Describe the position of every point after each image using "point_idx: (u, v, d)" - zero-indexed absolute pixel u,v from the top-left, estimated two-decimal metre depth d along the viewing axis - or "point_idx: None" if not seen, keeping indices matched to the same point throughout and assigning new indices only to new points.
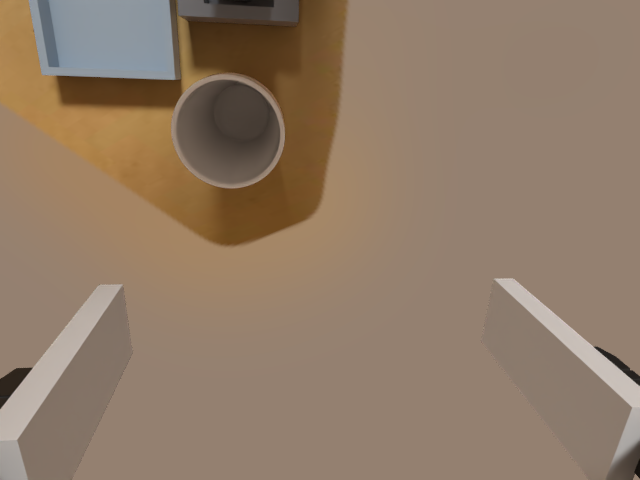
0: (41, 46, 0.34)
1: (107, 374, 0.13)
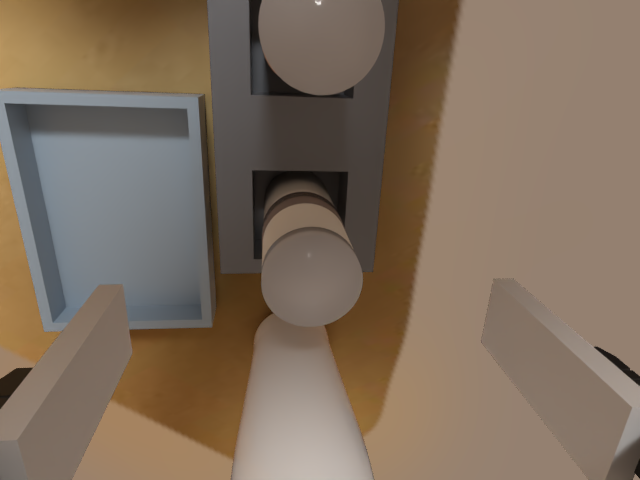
0: (43, 302, 0.26)
1: (107, 374, 0.13)
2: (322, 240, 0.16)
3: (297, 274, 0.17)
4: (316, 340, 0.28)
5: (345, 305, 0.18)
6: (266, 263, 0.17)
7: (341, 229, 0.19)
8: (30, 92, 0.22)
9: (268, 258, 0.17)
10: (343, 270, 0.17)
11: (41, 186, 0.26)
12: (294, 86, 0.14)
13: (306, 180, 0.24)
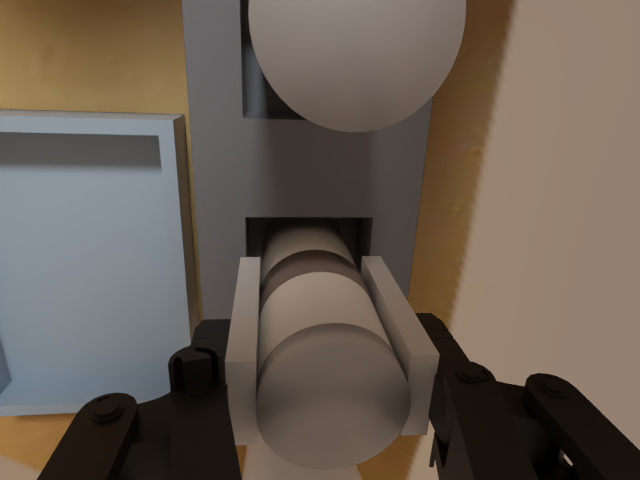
0: None
1: None
2: (351, 351, 0.11)
3: (312, 399, 0.11)
4: None
5: (383, 439, 0.12)
6: (264, 385, 0.11)
7: (373, 316, 0.13)
8: None
9: (267, 377, 0.11)
10: (382, 391, 0.11)
11: None
12: (310, 118, 0.08)
13: (317, 227, 0.18)
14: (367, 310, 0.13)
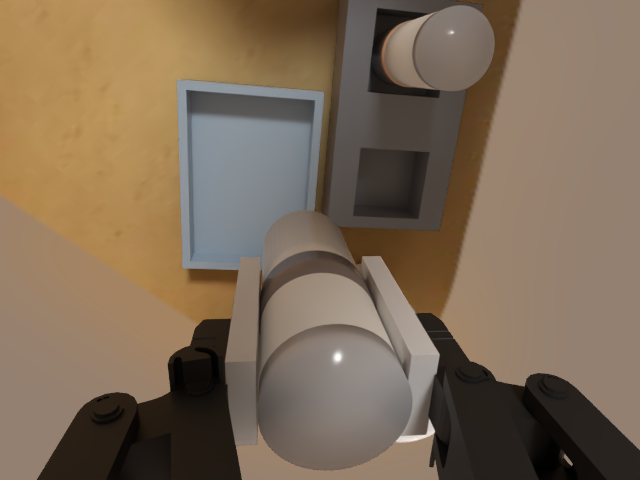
0: (186, 244, 0.34)
1: None
2: (353, 352, 0.11)
3: (313, 400, 0.11)
4: None
5: (384, 439, 0.12)
6: (266, 386, 0.11)
7: (375, 317, 0.13)
8: (205, 83, 0.30)
9: (269, 378, 0.11)
10: (383, 392, 0.11)
11: (192, 155, 0.34)
12: (434, 84, 0.23)
13: (318, 228, 0.18)
14: (368, 311, 0.13)
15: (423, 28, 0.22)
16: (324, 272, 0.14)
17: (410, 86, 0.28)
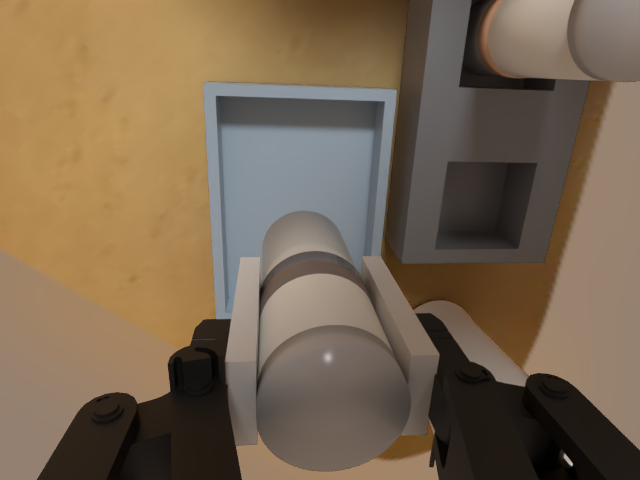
0: (220, 292, 0.27)
1: None
2: (351, 353, 0.11)
3: (312, 402, 0.11)
4: (481, 330, 0.28)
5: (383, 440, 0.12)
6: (264, 387, 0.11)
7: (373, 318, 0.13)
8: (241, 85, 0.23)
9: (267, 379, 0.11)
10: (382, 394, 0.11)
11: (223, 178, 0.26)
12: (606, 73, 0.15)
13: (317, 229, 0.18)
14: (367, 312, 0.13)
15: None
16: (323, 273, 0.14)
17: (527, 77, 0.20)
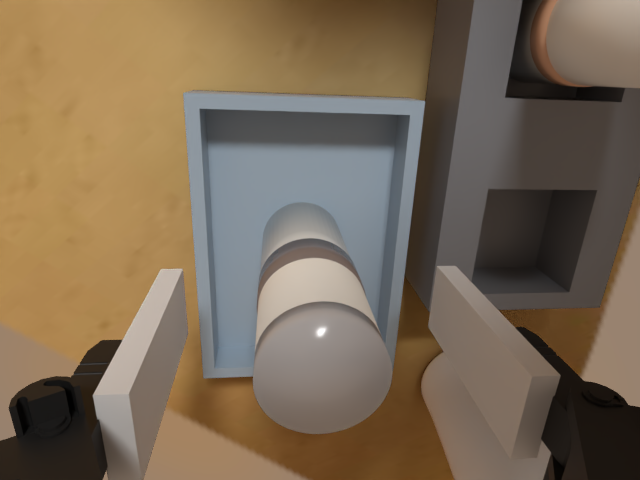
0: (207, 344, 0.22)
1: (174, 349, 0.14)
2: (337, 325, 0.12)
3: (302, 369, 0.12)
4: None
5: (367, 406, 0.13)
6: (260, 355, 0.12)
7: (361, 297, 0.14)
8: (231, 95, 0.18)
9: (262, 348, 0.12)
10: (366, 363, 0.12)
11: (211, 207, 0.21)
12: None
13: (313, 219, 0.20)
14: (355, 292, 0.14)
15: None
16: (316, 257, 0.15)
17: (598, 85, 0.16)
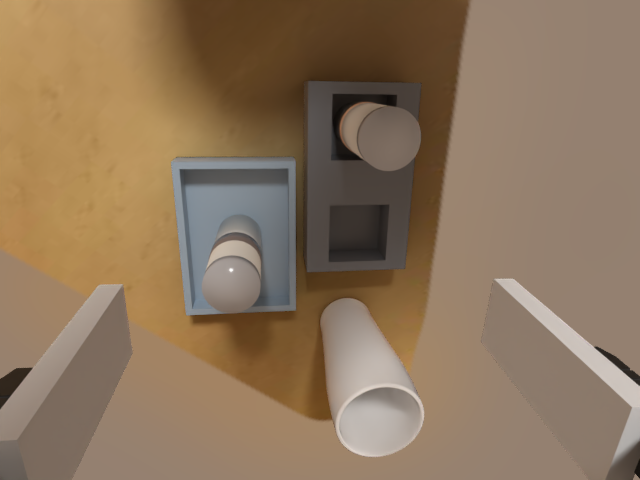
0: (187, 295, 0.40)
1: (107, 374, 0.13)
2: (234, 263, 0.30)
3: (222, 282, 0.30)
4: (367, 316, 0.41)
5: (251, 300, 0.31)
6: (204, 276, 0.30)
7: (251, 256, 0.32)
8: (195, 162, 0.36)
9: (205, 274, 0.30)
10: (248, 279, 0.30)
11: (188, 218, 0.39)
12: (376, 167, 0.28)
13: (241, 223, 0.37)
14: (249, 253, 0.32)
15: (362, 125, 0.27)
16: (235, 240, 0.33)
17: None
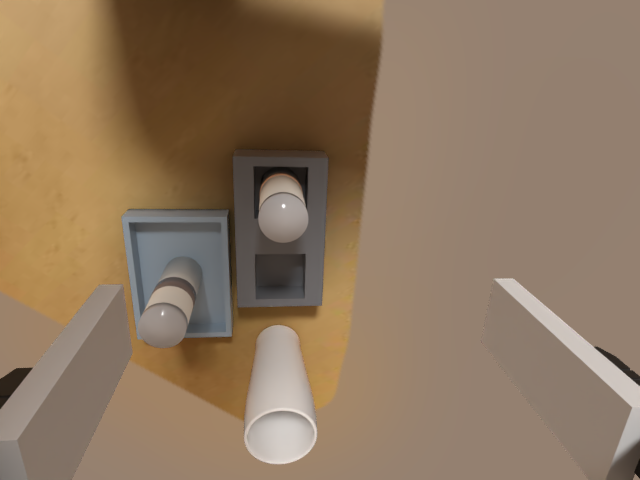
0: None
1: (107, 374, 0.13)
2: (164, 310, 0.37)
3: (154, 324, 0.37)
4: (291, 344, 0.48)
5: (179, 338, 0.38)
6: (139, 320, 0.37)
7: (182, 301, 0.39)
8: (141, 216, 0.43)
9: None
10: (175, 322, 0.38)
11: (139, 259, 0.47)
12: (272, 239, 0.35)
13: (182, 266, 0.45)
14: (179, 299, 0.39)
15: (260, 208, 0.35)
16: (170, 285, 0.41)
17: None
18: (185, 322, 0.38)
